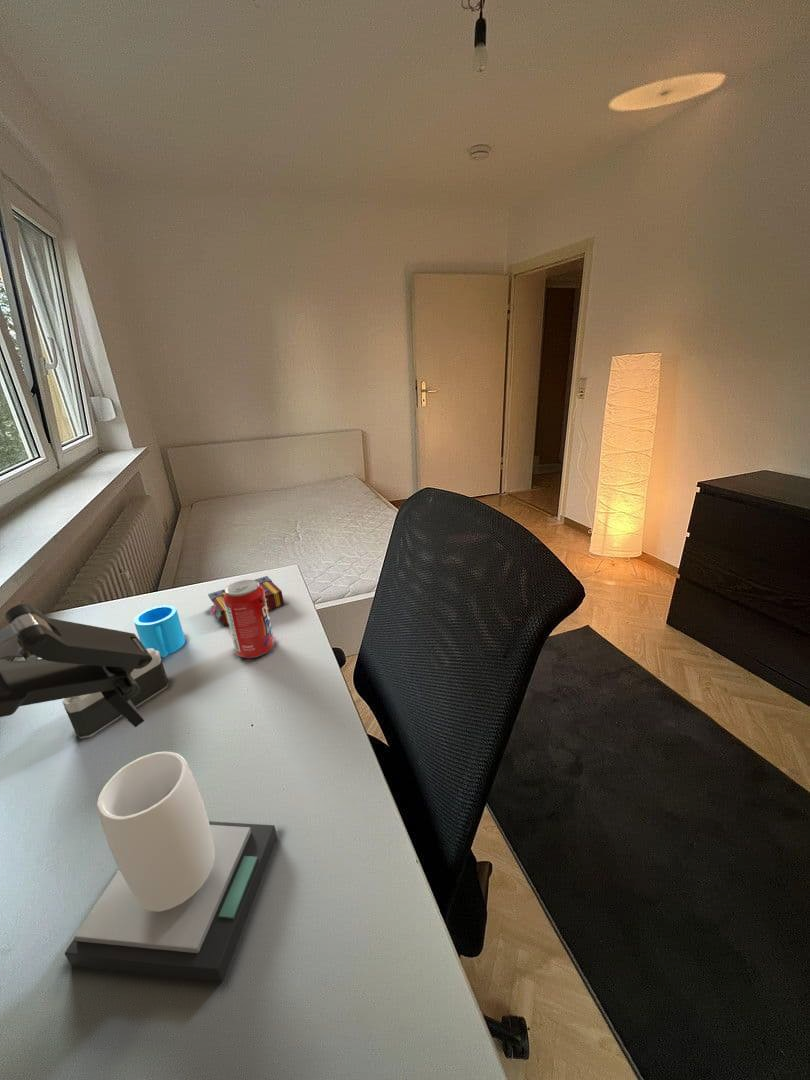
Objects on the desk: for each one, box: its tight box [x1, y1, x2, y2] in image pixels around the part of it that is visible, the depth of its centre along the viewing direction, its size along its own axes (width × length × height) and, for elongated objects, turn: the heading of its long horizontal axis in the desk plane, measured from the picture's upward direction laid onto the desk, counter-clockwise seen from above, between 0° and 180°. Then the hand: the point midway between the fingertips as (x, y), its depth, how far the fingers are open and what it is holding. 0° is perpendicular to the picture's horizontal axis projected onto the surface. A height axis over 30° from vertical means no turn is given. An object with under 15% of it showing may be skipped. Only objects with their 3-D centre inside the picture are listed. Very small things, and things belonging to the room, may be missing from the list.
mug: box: [133, 604, 186, 658], centre depth 93 cm, size 12×8×8 cm
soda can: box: [223, 579, 275, 659], centre depth 91 cm, size 8×8×15 cm
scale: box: [64, 820, 278, 983], centre depth 49 cm, size 16×14×3 cm
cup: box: [96, 751, 215, 912], centre depth 46 cm, size 8×8×14 cm
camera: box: [61, 648, 170, 739], centre depth 78 cm, size 16×9×10 cm, turn 149°
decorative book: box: [207, 575, 285, 627], centre depth 109 cm, size 11×16×5 cm
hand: (39, 776), depth 33 cm, fingers open, 13 cm apart
